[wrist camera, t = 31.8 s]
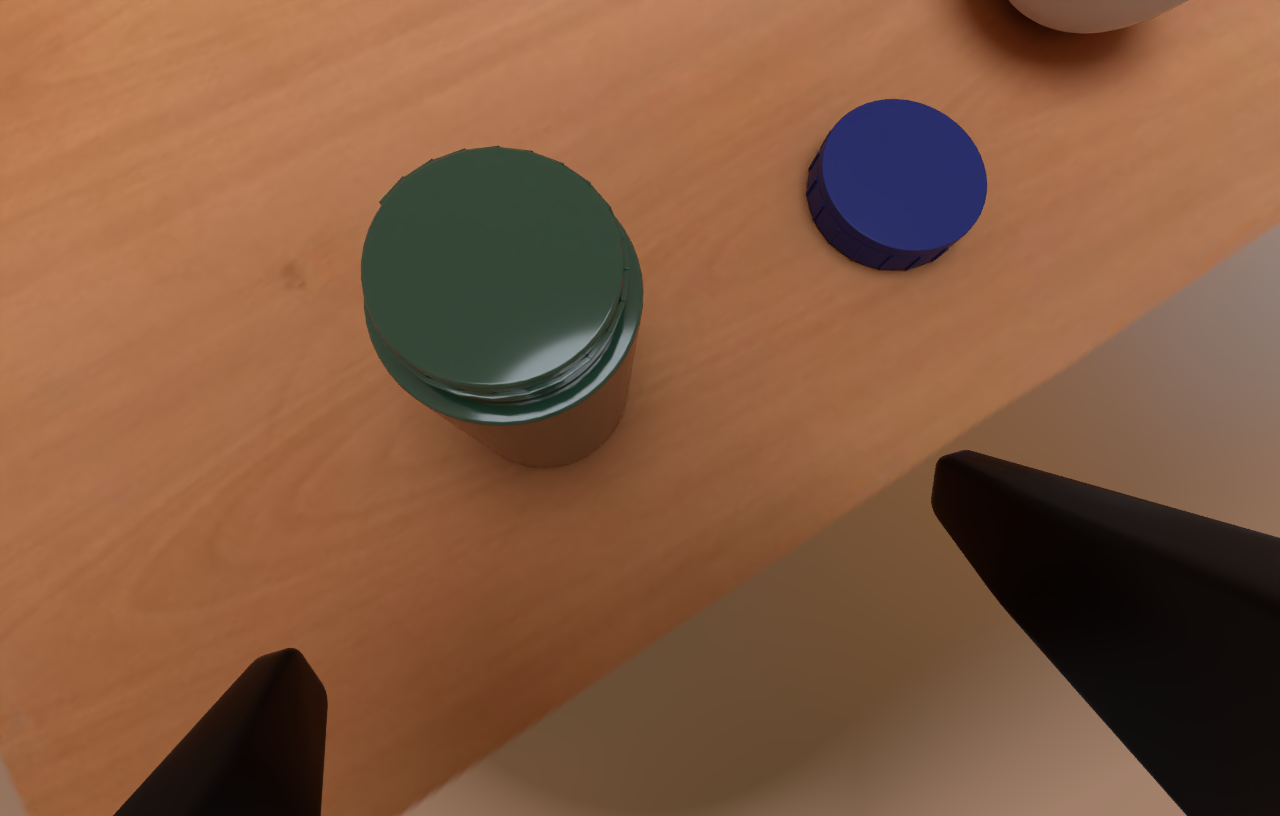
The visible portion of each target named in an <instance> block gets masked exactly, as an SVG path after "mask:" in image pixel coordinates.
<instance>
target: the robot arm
mask: <svg viewBox="0 0 1280 816" xmlns="http://www.w3.org/2000/svg"><path fill="white" fill-rule="evenodd" d="M931 503H932V508H933V511H934V513H935V515H936V516H937V518H938V520H939V521H940V522H941V524H942V525H943V527H944V528H945V529H946V530H947V532H948V533H949V535H950V536H951V537H952V539H953V540H954V542H955V543H956V544H957V546H958V547H959V548H960V550H961V551H962V553H963V554H964V555H965V557H966V558H967V560H968V561H969V562H970V564H971V565H972V566H973V568H974V569H975V570H976V572H977V573H978V574H979V576H980V577H981V579H982V580H983V581H984V583H985V584H986V586H987V587H988V588H989V590H990V591H991V592H992V594H993V595H994V596H995V597H996V599H997V600H998V601H999V603H1000V604H1001V605H1002V606H1003V607H1004V609H1005V610H1006V611H1007V612H1008V613H1009V614H1010V616H1011V617H1012V618H1013V619H1014V620H1015V621H1016V623H1017V624H1018V625H1019V626H1020V627H1021V628H1022V629H1023V630H1024V632H1025V633H1026V634H1027V635H1028V636H1029V637H1030V638H1031V639H1032V641H1033V642H1034V643H1035V644H1036V645H1037V646H1038V647H1039V648H1040V650H1041V651H1042V652H1043V653H1044V654H1045V655H1046V657H1047V658H1048V659H1049V660H1050V661H1051V662H1052V663H1053V664H1054V665H1055V667H1056V668H1057V669H1058V670H1059V671H1060V672H1061V674H1062V675H1063V676H1064V677H1065V678H1066V679H1067V680H1068V681H1069V682H1070V684H1071V685H1072V686H1073V687H1074V688H1075V689H1076V691H1077V692H1078V693H1079V694H1080V695H1081V696H1082V697H1083V699H1084V700H1085V701H1086V702H1087V703H1088V704H1089V705H1090V706H1091V708H1092V709H1093V710H1094V711H1095V712H1096V713H1097V714H1098V716H1099V717H1100V718H1101V719H1102V720H1103V721H1104V722H1105V723H1106V725H1107V726H1108V727H1109V728H1110V729H1111V730H1112V731H1113V733H1114V734H1115V735H1116V736H1117V737H1118V738H1119V739H1120V740H1121V742H1122V743H1123V744H1124V745H1125V746H1126V747H1127V748H1128V750H1129V751H1130V752H1131V753H1132V754H1133V755H1134V756H1135V758H1137V760H1138V761H1139V762H1140V763H1141V764H1142V765H1143V767H1144V768H1145V769H1146V770H1147V771H1148V772H1149V773H1150V774H1151V776H1153V778H1154V779H1155V780H1156V781H1157V782H1158V784H1159V785H1160V786H1161V787H1162V788H1163V789H1164V790H1165V791H1166V793H1167V794H1168V795H1169V796H1170V797H1171V798H1172V799H1173V801H1175V803H1176V804H1177V805H1178V806H1179V807H1180V809H1182V811H1183V812H1184V813H1185V814H1186V815H1187V816H1280V538H1278V537H1274V536H1271V535H1268V534H1264V533H1260V532H1257V531H1253V530H1250V529H1246V528H1242V527H1239V526H1236V525H1232V524H1229V523H1225V522H1221V521H1218V520H1214V519H1211V518H1207V517H1204V516H1200V515H1197V514H1193V513H1190V512H1186V511H1183V510H1179V509H1176V508H1172V507H1168V506H1165V505H1161V504H1157V503H1154V502H1151V501H1147V500H1144V499H1140V498H1137V497H1133V496H1129V495H1126V494H1122V493H1119V492H1115V491H1112V490H1108V489H1104V488H1101V487H1098V486H1094V485H1091V484H1087V483H1083V482H1080V481H1076V480H1073V479H1069V478H1066V477H1062V476H1059V475H1055V474H1052V473H1048V472H1044V471H1041V470H1037V469H1034V468H1030V467H1027V466H1023V465H1020V464H1016V463H1013V462H1009V461H1005V460H1002V459H998V458H995V457H991V456H988V455H984V454H981V453H977V452H973V451H970V450H962V451H958V452H955V453H952V454H948V455H945V456H942V457H941V458H940V459H939V460H938V461H937V463H936V468H935V475H934V482H933V489H932V496H931ZM327 708H328V702H327V694H326V691H325V688H324V686H323V684H322V682H321V681H320V680H319V678H318V677H317V675H316V674H315V672H314V671H313V669H312V668H311V666H310V665H309V663H308V662H307V661H306V659H305V658H304V656H303V655H302V653H301V652H300V651H299V650H297V649H295V648H287V649H283V650H280V651H277V652H273V653H270V654H266V655H263V656H261V657H259V658H257V659H256V660H255V661H254V662H253V663H252V664H251V665H250V666H249V667H248V668H247V669H246V670H245V671H244V672H243V673H242V674H241V676H240V677H239V678H238V679H237V680H236V681H235V682H234V683H233V684H232V685H231V687H230V688H229V689H228V690H227V691H226V692H225V693H224V694H223V695H222V696H221V698H220V699H219V700H218V701H217V702H216V703H215V704H214V705H213V706H212V707H211V709H210V710H209V711H208V712H207V713H206V714H205V715H204V716H203V717H202V718H201V720H200V721H199V722H198V723H197V724H196V725H195V726H194V727H193V728H192V729H191V731H190V732H189V733H188V734H187V735H186V736H185V737H184V738H183V739H182V740H181V742H180V743H179V744H178V745H177V746H176V747H175V748H174V749H173V750H172V751H171V753H170V754H169V755H168V756H167V757H166V758H165V759H164V760H163V761H162V762H161V764H160V765H159V766H158V767H157V768H156V769H155V770H154V771H153V772H152V773H151V775H150V776H149V777H148V778H147V779H146V780H145V781H144V782H143V783H142V784H141V786H140V787H139V788H138V789H137V790H136V791H135V792H134V793H133V794H132V795H131V797H130V798H129V799H128V800H127V801H126V802H125V803H124V804H123V805H122V806H121V808H120V809H119V810H118V811H117V812H116V813H115V814H114V815H113V816H321V803H322V787H323V771H324V755H325V740H326V724H327Z"/></svg>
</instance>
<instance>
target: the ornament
mask: <svg viewBox="0 0 1280 816" xmlns="http://www.w3.org/2000/svg"><path fill="white" fill-rule="evenodd" d="M1186 1H1188V0H1009V2H1010V3H1011V4H1012V5H1013V6H1014V7H1015V8H1016V9H1017V10H1018V11H1020V12H1021V13H1022V14H1023V15H1025V16H1026V17H1028V18H1029V19H1031V20H1033V21H1034V22H1036V23H1038V24H1041V25H1043V26H1045V27H1048V28H1051V29H1055V30H1059V31H1064V32H1070V33H1099V32H1107V31H1112V30H1117V29H1121V28H1125V27H1128V26H1132V25H1135V24H1138V23H1141V22H1143V21H1146V20H1149V19H1151V18H1154V17H1156V16H1158V15H1160V14H1163V13H1165V12H1167V11H1169V10H1171V9H1173V8H1175V7H1177V6H1179V5H1180V4H1182V3H1184V2H1186Z"/></svg>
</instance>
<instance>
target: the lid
mask: <svg viewBox="0 0 1280 816" xmlns="http://www.w3.org/2000/svg"><path fill="white" fill-rule="evenodd" d="M809 170H810V173H809V177H808V184H807V192H806V195H808V201H809V206H810V209H811V213H812V215H813V218H812V219H813V220H815V222H816V224H817V226H818V227H819V229H820V231H821V232H822V233H823V235H824V236H825V237H826V238H827V240H828V242H829V243H831V244H832V245H833V246H834V247H835V248H837V249H838V250H839V251H840V252H842V253H843V254H845V255H846V256H848V257H849V258H851V260H855V261H857V262H859V263H861V264H864V265H867V266H870V267H874V268H878V270H881V269H887V270H902V269H906V271H907V270H909V269H911V268H914V267H917V266H920V265H923V264H925V263H927V262H929V261H931V262H933V261H934V260H936V259H937V258H938V257H939V256H941V255H942V254H943V253H944V252H946V251H947V250H948V248H949V247H950V246H952V245H953V244H954V243H955V242H957V241H958V240H959V239H960V238H961V237H963V236H964V235H965V234H966V233H967V232H968V231H969V230H970V229H971V227H972V226H973V225H974V224H975V222H976V221H977V219H978V217H979V216H980V214H981V211H982V209H983V206H984V203H985V199H986V193H987V178H986V172H985V167H984V164H983V161H982V158H981V155H980V153H979V151H978V149H977V147H976V146H975V144H974V143H973V141H972V140H971V138H970V137H969V136H968V135H967V133H966V132H965V131H964V130H963V129H962V128H961V127H960V126H959V125H958V124H957V123H956V122H954V121H953V120H952V119H950V118H949V117H948V116H946V115H945V114H943V113H941V112H940V111H938V110H936V109H934V108H931V107H929V106H927V105H924V104H921V103H918V102H913V101H909V100H900V99H886V100H879V101H874V102H870V103H867V104H864V105H862V106H860V107H857V108H856V109H854V110H852V111H851V112H849V113H848V114H846V115H845V116H844V117H843V118H841V119H840V121H839V122H838V123H837V124H836V125H835V126H834V128H833V129H832V130H831V131H830V132H829V134H828V135H827V137H826V139H825V141H824V142H823V144H822V146H821V148H820V151H819V152H818V153H817V155H816V157H815V158H814V160H813V162H812V164H811V165H810V167H809Z"/></svg>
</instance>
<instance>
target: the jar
mask: <svg viewBox="0 0 1280 816" xmlns="http://www.w3.org/2000/svg"><path fill="white" fill-rule="evenodd" d="M379 203H380V204H381V207H380V208H379V210H378V212H377V213H376V215H375V217H374V219H373V221H372V223H371V225H370V227H369V230H368V233H367V236H366V239H365V243H364V247H363V253H362V260H361V281H362V288H363V295H364V311H365V318H366V325H367V328H368V332H369V335H370V339H371V342H372V344H373V346H374V348H375V350H376V353H377V355H378V357H379V359H380V360H381V362H382V363H383V365H384V366H385V368H386V369H387V371H388V372H389V374H390V375H391V376H392V377H393V378H394V379H395V381H396V382H397V383H398V384H399V385H400V386H401V387H402V388H403V389H404V390H405V391H407V392H408V393H409V394H410V395H411V396H412V397H414V398H415V399H416V400H418V401H419V402H421V403H422V404H424V405H425V406H427V407H428V408H430V409H431V410H433V411H434V412H436V413H437V414H438V415H440V416H441V417H443V418H444V419H446V420H447V421H449V422H450V423H452V424H453V425H455V426H456V427H458V428H459V429H461V430H462V431H464V432H465V433H466V434H468V435H469V436H471V437H472V438H474V439H475V440H477V441H478V442H480V443H481V444H483V445H484V446H486V447H487V448H489V449H490V450H492V451H493V452H494V453H496V454H498V455H499V456H501V457H502V458H504V459H506V460H508V461H510V462H513V463H516V464H519V465H522V466H527V467H532V468H555V467H560V466H565V465H568V464H571V463H574V462H577V461H579V460H581V459H583V458H585V457H587V456H588V455H590V454H591V453H593V452H594V451H596V450H597V449H598V448H599V447H600V446H601V445H603V444H604V443H605V442H606V440H607V439H608V438H609V437H610V436H611V435H612V433H613V432H614V430H615V428H616V427H617V425H618V423H619V421H620V419H621V417H622V414H623V411H624V408H625V404H626V398H627V393H628V387H629V382H630V376H631V370H632V365H633V359H634V353H635V348H636V342H637V337H638V331H639V325H640V320H641V314H642V309H643V281H642V273H641V269H640V264H639V260H638V257H637V254H636V252H635V249H634V247H633V244H632V242H631V240H630V238H629V237H628V235H627V233H626V231H625V229H624V228H623V226H622V225H621V224H620V222H619V221H618V220H617V218H616V217H615V216H614V213H613V211H612V209H611V207H610V206H609V204H608V203H607V202H606V201H605V200H604V199H603V198H602V196H601V195H600V194H599V193H598V192H597V191H596V190H595V188H594V187H593V186H592V185H591V183H590V182H589V181H587V180H586V179H584V178H583V177H581V176H580V175H578V174H577V173H575V172H574V171H572V170H571V169H569V168H568V167H567V166H565V165H564V163H561V162H559V161H556V160H553V159H550V158H548V157H545V156H542V155H539V154H537V153H534V152H533V151H529V150H521V149H513V148H503V147H500V146H493V147H484V148H476V149H467V150H466V149H465V148H464V149H462V150H459V151H456V152H453V153H451V154H448V155H445V156H442V157H440V158H437V159H434V160H433V159H431V160H429V161H428V162H426V163H425V164H423V165H422V166H420V167H419V168H417V169H416V170H414V171H413V172H411V173H410V174H408V175H407V176H405V177H404V176H403V177H402V178H401V179H400V180H399V181H398V182H397V183H396V184H395V185H394V186H393V187H392V189H391V190H390V191H389V192H388V193H387V194H386V195H385V196H384V197H383V198H382V199H381V201H380V202H379Z"/></svg>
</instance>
